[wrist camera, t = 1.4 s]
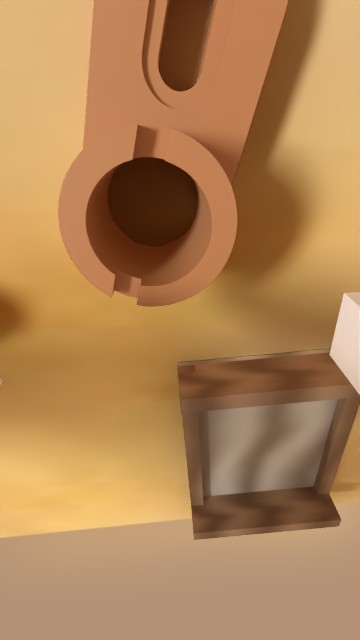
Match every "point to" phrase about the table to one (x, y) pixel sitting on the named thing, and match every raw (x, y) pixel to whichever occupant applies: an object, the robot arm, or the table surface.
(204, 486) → the wooden window with sill
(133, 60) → the bracket
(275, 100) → the table surface
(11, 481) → the table surface
